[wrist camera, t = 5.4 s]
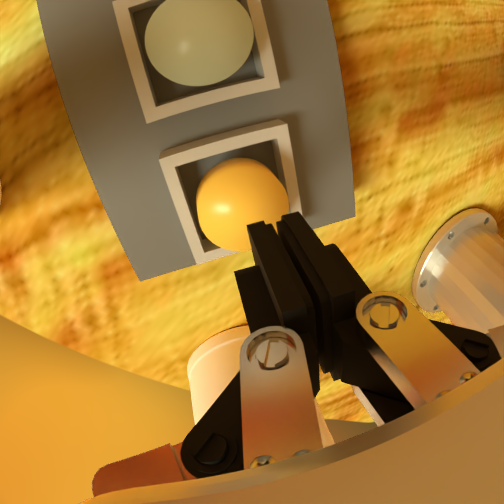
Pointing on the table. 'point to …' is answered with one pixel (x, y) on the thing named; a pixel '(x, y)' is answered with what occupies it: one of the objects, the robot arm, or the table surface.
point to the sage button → (198, 40)
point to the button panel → (200, 121)
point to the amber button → (238, 201)
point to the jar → (224, 373)
